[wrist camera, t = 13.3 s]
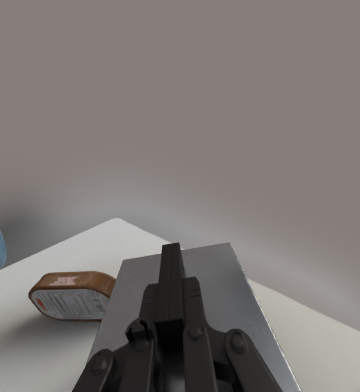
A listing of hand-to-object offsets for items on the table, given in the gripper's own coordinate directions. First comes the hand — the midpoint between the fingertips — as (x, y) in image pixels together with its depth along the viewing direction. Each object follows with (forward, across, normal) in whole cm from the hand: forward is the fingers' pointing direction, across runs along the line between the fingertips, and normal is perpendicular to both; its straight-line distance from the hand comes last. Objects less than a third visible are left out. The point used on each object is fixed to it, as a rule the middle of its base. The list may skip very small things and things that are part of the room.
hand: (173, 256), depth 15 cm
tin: (+8, -18, -15) cm, 24 cm away
